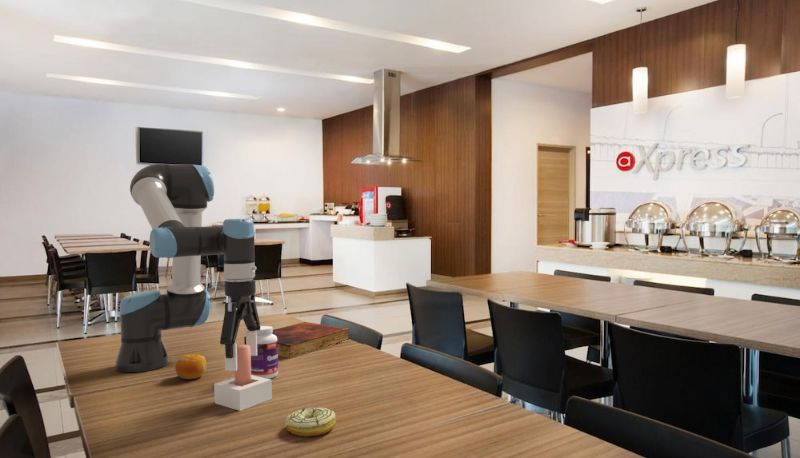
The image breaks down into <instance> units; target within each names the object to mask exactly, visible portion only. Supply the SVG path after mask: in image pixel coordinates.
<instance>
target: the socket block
mask: <svg viewBox="0 0 800 458" xmlns="http://www.w3.org/2000/svg"><path fill="white" fill-rule="evenodd" d="M272 385H273V383H272V378H270V379H267V378H262V377H258V376H254V375H251V383H250V384H247V385H244V386H237V385H235V376H234V377H231V378H228V379H225V380H222V381H218V382H215V383H214V384H213V386H214V387H213V388H214V404H216V405H219V406H222V407H226V408H230V409H233V410H237V411H239V412H241V411H244V410H246V409H249V408H252V407H254V406H258V405H260V404H263V403H265V402H269V401H270V400H272V399H273V386H272Z"/></svg>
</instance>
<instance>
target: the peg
mask: <svg viewBox="0 0 800 458" xmlns="http://www.w3.org/2000/svg"><path fill="white" fill-rule="evenodd" d="M234 377H235V385H237V386H244V385H247V384H250V383H251V351H250V345H245V344H238V345H237V371H234Z"/></svg>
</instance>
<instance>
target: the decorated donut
mask: <svg viewBox="0 0 800 458" xmlns="http://www.w3.org/2000/svg"><path fill="white" fill-rule="evenodd" d="M336 418H337V417H336V413H335V412H334V410H332V409H329V408H326V407H304V408H301V409H298V410H296V411H294V412H292V413H290V414H289V415H287V416H286V418H285V424H284V425H285V426H286V431H288V432H289V433H291V434H292V435H295V436H298V437H303V438H304V437H306V438H307V437H317V436H323V435H325V434H326V433H329V432H330V431H331V430H332V428H333V427H334V426H335V424H336V420H337V419H336Z"/></svg>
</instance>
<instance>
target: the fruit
mask: <svg viewBox="0 0 800 458" xmlns="http://www.w3.org/2000/svg"><path fill="white" fill-rule="evenodd" d="M207 369H208V362H207V359H206V358H205V356H203V355H201V354H197V353H196V354H195V353H191V354H185V355H184V354H183V355H182V356H180V357H179V358H178V360H177V361H176V363H175V372H176V374H177V376H178V377H180V378H181V379H184V380H195V379H199V378H200V377H202V376H203V375H205V373H206V371H207Z"/></svg>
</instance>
